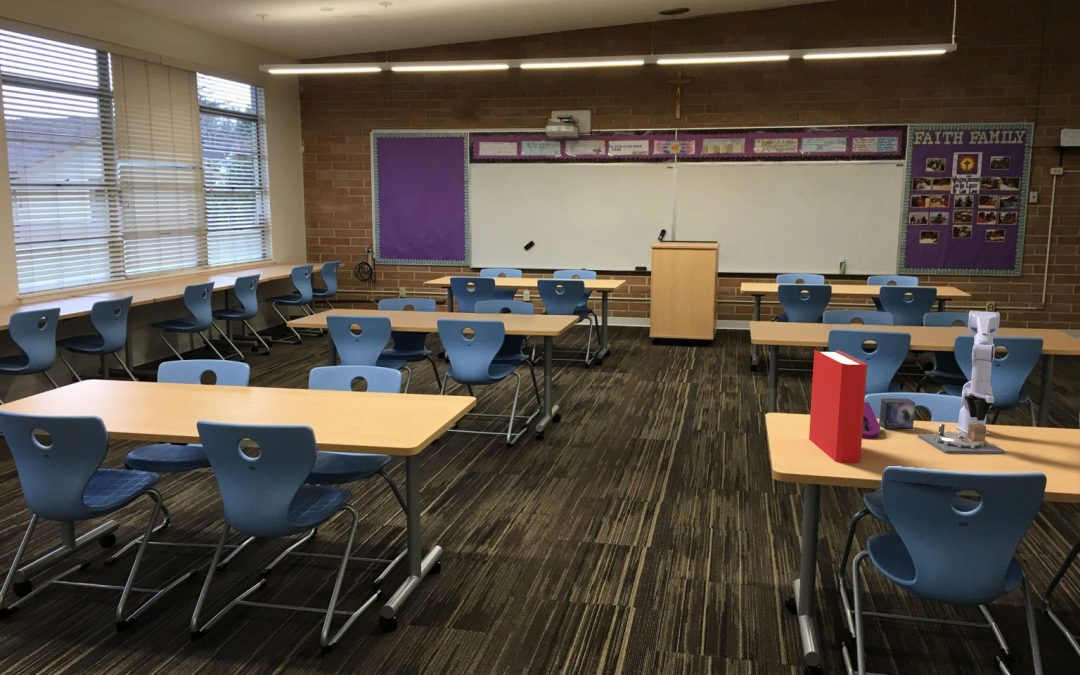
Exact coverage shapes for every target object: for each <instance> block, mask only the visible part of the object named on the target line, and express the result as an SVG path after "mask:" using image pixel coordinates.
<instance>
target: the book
mask: <svg viewBox="0 0 1080 675" xmlns="http://www.w3.org/2000/svg"><path fill="white" fill-rule="evenodd" d="M812 368H813V369H812V385H811V399H810V400H811V401H810V414H809V416H810V417H809V418H810V419H809V434H808V440H809V441H810V442H811V443H813V444H814V445H815V446H816V447H817V448H819V449H820V450H821V451H822V452H823V453H824V454H825V455H827V456H828V457H829V458H830V459H832V460H833V461H834V462H835V463H839V464H859V463H861V457H862V456H861V455H862V444H863V442H862V441H863V438H862V431H863V417H864V404H865V400H866V391H867V390H866V387H867V374H868V373H867V372H868V363H866V362H865V361H863V360H861V359H858V358H856V357H854V356H852V355H850V354H848V353H845V352H844V351H841V350H839V349H837V350H835V351H818V350H816V349H814V353H813V366H812Z"/></svg>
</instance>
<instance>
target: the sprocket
mask: <svg viewBox="0 0 1080 675" xmlns="http://www.w3.org/2000/svg"><path fill="white" fill-rule="evenodd" d="M938 426H939V427H938V432H937V434H938V435H937V434H936V433H935V435H934V439H936V441H937V442H942V443H944V445H952V446H957V447H959V448H961V447H969V448H974V447H981V448H983V447H984V445H987V442H988V440H985V441H973V440H971V439H969V438H967V433H965V432H963V431H960V432H955V431H954V432H951V431H945V426H946V424H944V423H940V424H939V425H938Z"/></svg>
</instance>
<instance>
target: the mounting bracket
mask: <svg viewBox="0 0 1080 675" xmlns="http://www.w3.org/2000/svg"><path fill="white" fill-rule="evenodd" d="M867 430H869V431H867ZM880 431H881V426H880V425H879V420H878V419H877V417H876V414H875V413H874V409H872V406H871V404H870V402H867V401H866V402H865V404H864V417H863V431H862V439H876V438H877V437H879V435H880Z"/></svg>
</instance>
